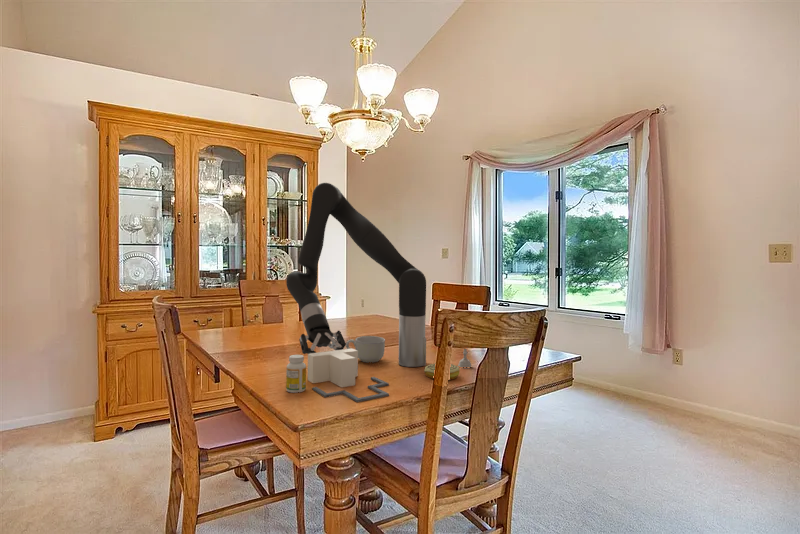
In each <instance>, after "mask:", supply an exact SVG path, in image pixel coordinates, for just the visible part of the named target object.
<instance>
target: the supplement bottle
mask: <svg viewBox="0 0 800 534" xmlns="http://www.w3.org/2000/svg"><path fill="white" fill-rule="evenodd" d="M304 357H305V355H304V354H292V355H289V357H288V361H289V362H288V364H287V365H286V371H285V372H286V374H285V375H286V380H285V381H286V382H285V383H286V386H285V390H286V392H288V393H292V394H293V393H294V394H297V393H298V392H299V393H303V392H304V391H306V389H307V386H306V385H307V384H306V382H307V365H306V363H305V362H304V360H305V358H304Z"/></svg>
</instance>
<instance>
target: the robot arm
mask: <svg viewBox="0 0 800 534" xmlns="http://www.w3.org/2000/svg"><path fill="white" fill-rule="evenodd" d="M310 203H311V204H310V205H311V206H310V212H309V217H308V223H307V227H306V230H305V231H306V232H305V235H304V239H303V241H302V245H301V248H300V251H299V255H298V259H297V263H298V265H300V266H302V267H304V268H305V273H304V272H302V271H301V272H300V271H292V272H290V273H289V274H287V278H286V281H285V285H286V288H287V291H288V292H289V293H290V295H291V296H292V298H293V299H294V300H295V302H296V303H297V305H298V308H299V311H300V315H301V319H302V320H301V321H302V322H303V325H304V329H305V332H306V335H305V333H301V335H300V337H299V340H298V341H299V343H300V347H301V348H300V349H301V353H302V355H306V354H307V355H308V354H310V353H317V351H316V350H315V349H316V347H317V348H322V347H323V348H325V347H328V348H329V349H333V351H334V350H342V349H345V348H346V341H345V338H344V337H343V334H342V332H341V330H337V331H335V332H332V330H331V328H330V325H329V322H328V319H327V316H326V313H325V310H324V309H323V307H322V305H321V303H320V300H319V297H318V295H317V293H315V290H316V288H317V286H318V268H319V267H318V264H319V261H320V258H321V255H322V252H323V247H324V243H325V242H324V241H325V233H326V227H327V223H328V219H329V217H330V215H331V217H332V218H334V219H335V220H336V221H338V222H339V224H340V225H341V226H342V227H343V228H344V230H345V231H346V233H347V234H348V236H349V237H350V238H351V239H352V241H353V242H354V243H355V244H356V246H357V247H359V248H360V249H361V250H362V251H363V253H365V254H366V255H367V256H368V257H369V258H370V259H371V260H373V261H374V262H376V263H377V264H378V265H379V266H381V267H382V268H384V269H385V270H386V271H387V272H388V273H389V274H390V275H391V276H392V277H393V278H394V279H395V281H397V283H398V317H399V318H398V365H399V366H401V367H408V368H417V367H422V366H423V367H426V366H427V337H426V319H427V318H426V312H427V311H426V310H427V279H426V276H425V274H424V273H423V272H422V271H421V270H420V269H418V268H417V267H415V266H414V265H413V264H412V263H410V262H409V260H407V259H406V258H405V257H403V256H402V254H401V253H400V252H399V251H398V249H397V248H396V247H395V246H394V244H393V243H392V242H391V241H390V240H389V239H388V238H387V236H386V235H385V234H384V233H383V232H382V231H381V230H380V229H379V228H378V227H377V226H376V225H375V224H374V223H372V222H371V221H370V220H369V219H368V218H366V217H365V215H363V214H361V213H360V212H359V211H358V210H356V208H354V206H352V204H351V203H350V202H349V200H348V199H347V198H346V197H345V195H343V193H342V192H341V190H340V189H339V188H338V187H337V186H335V185H333V184H332V183H330V182H322V183H319V184H318V185H316V186H315V188H314V189H313V190H312V198H311V202H310ZM308 341H309V342H310V343H311V346H310V347H309V345H308Z"/></svg>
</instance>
